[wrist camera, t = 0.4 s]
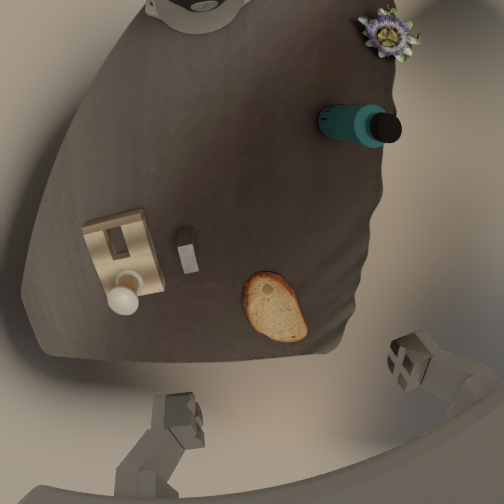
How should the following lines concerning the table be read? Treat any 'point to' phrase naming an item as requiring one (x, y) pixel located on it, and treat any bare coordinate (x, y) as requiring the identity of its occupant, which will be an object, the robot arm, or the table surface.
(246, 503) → the robot arm
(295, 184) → the table surface
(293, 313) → the slice of bread
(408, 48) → the passion flower
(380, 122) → the beverage bottle
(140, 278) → the bobbin
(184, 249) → the metal tab
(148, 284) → the slot board
